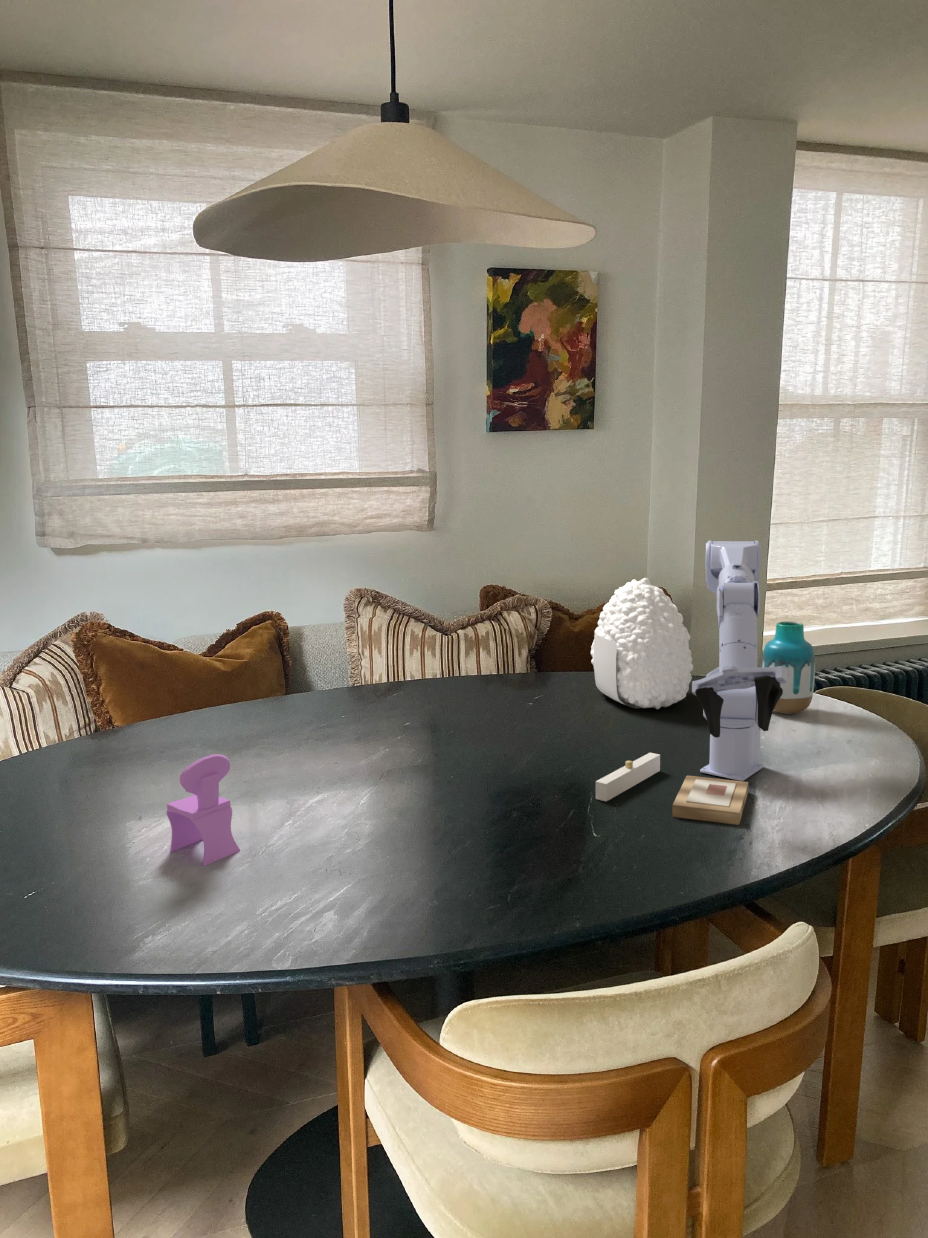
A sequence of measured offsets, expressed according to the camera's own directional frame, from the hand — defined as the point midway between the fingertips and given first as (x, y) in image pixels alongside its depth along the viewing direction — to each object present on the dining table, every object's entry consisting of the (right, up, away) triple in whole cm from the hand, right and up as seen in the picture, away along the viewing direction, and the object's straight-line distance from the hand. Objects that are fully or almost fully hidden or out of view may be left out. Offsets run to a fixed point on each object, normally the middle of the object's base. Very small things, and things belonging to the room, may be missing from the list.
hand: (738, 732), depth 141 cm
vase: (+27, -3, +59) cm, 65 cm away
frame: (-2, -13, +10) cm, 16 cm away
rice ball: (-1, -1, +71) cm, 71 cm away
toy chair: (-79, -17, -3) cm, 81 cm away
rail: (-13, -11, +19) cm, 26 cm away
